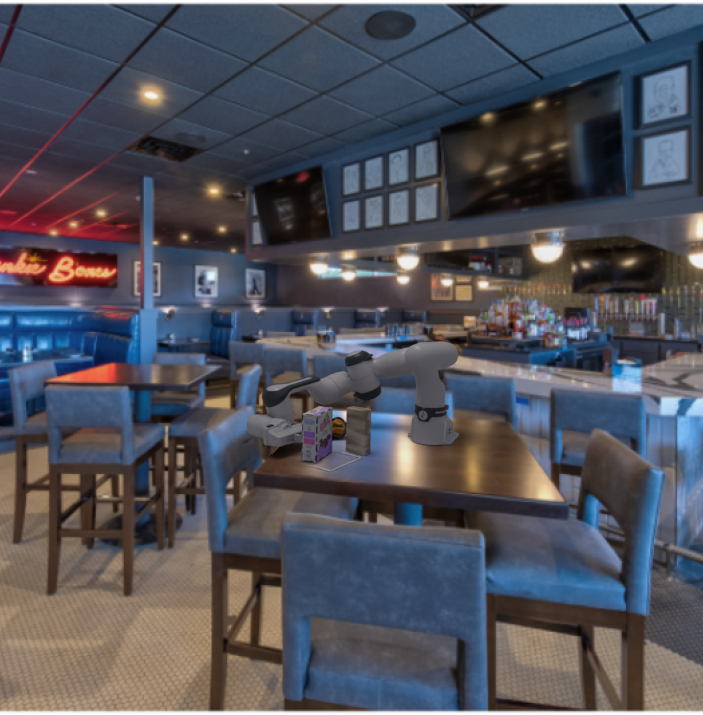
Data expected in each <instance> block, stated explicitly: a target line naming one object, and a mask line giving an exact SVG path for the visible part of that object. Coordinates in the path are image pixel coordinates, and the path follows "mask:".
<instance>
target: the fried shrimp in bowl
mask: <svg viewBox="0 0 703 715" xmlns="http://www.w3.org/2000/svg"><path fill="white" fill-rule="evenodd" d="M344 437H346V420H344V418H343V417H341V416H335V417H333V419H332V441H334V440H337V441H338V440H340V439H342V438H344Z"/></svg>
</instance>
